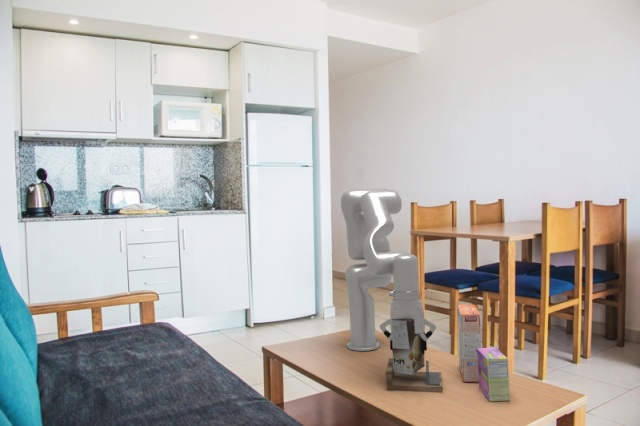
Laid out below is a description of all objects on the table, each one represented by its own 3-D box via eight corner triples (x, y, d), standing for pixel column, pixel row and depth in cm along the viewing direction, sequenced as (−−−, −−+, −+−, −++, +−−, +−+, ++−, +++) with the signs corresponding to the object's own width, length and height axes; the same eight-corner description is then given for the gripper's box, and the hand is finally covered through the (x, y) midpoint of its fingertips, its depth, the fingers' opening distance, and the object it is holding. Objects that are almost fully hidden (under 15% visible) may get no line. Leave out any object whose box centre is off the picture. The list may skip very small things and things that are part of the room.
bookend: (426, 373, 157) (425, 360, 157) (438, 373, 156) (438, 360, 156) (426, 385, 147) (426, 371, 147) (439, 385, 147) (439, 372, 146)
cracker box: (483, 383, 151) (480, 314, 150) (462, 382, 152) (459, 313, 151) (478, 367, 165) (476, 303, 164) (459, 366, 166) (456, 303, 165)
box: (478, 387, 148) (476, 347, 148) (497, 387, 148) (496, 347, 147) (488, 402, 138) (487, 359, 137) (510, 401, 137) (508, 358, 137)
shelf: (389, 375, 161) (389, 358, 160) (441, 377, 157) (440, 359, 157) (386, 390, 149) (386, 371, 149) (442, 392, 146) (441, 373, 145)
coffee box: (412, 375, 148) (410, 321, 147) (392, 372, 151) (390, 319, 151) (425, 366, 155) (423, 314, 155) (406, 363, 159) (404, 312, 158)
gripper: (376, 298, 151) (378, 355, 151) (436, 297, 147) (438, 357, 148) (378, 293, 158) (380, 348, 159) (435, 292, 154) (437, 349, 155)
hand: (408, 352), depth 153 cm, fingers closed on coffee box, 8 cm apart
